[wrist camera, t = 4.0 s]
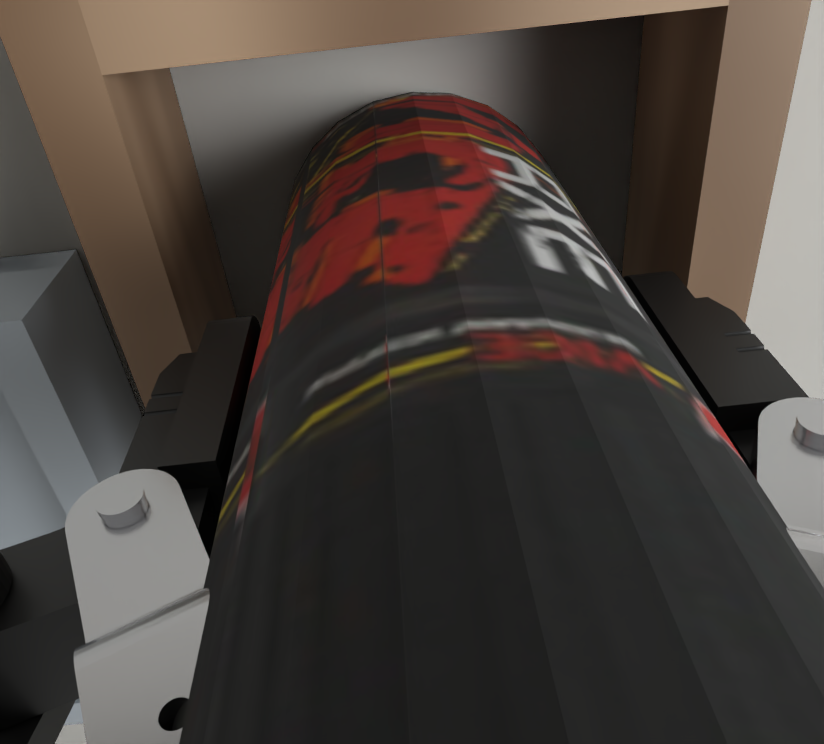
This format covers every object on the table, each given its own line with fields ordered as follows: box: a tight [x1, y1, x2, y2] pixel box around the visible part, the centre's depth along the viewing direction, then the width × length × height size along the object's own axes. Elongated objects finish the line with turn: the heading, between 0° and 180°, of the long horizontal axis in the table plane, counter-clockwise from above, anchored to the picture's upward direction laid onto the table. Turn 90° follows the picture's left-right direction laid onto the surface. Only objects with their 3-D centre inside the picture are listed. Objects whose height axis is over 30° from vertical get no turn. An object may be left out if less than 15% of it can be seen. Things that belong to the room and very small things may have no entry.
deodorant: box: [172, 92, 824, 744], centre depth 9 cm, size 6×6×15 cm
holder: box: [0, 0, 811, 408], centre depth 14 cm, size 11×11×4 cm
